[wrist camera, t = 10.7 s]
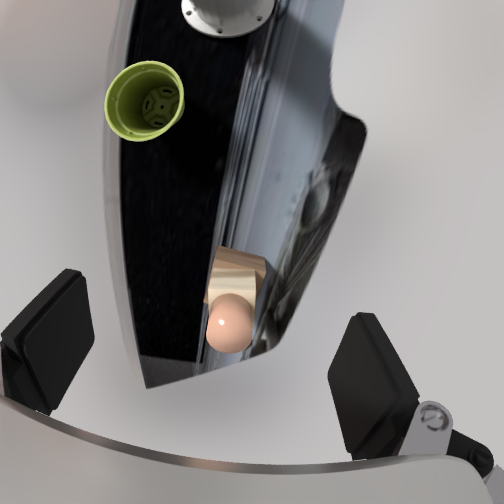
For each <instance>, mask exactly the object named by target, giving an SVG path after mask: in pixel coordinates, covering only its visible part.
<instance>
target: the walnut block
mask: <svg viewBox="0 0 504 504" xmlns="http://www.w3.org/2000/svg"><path fill="white" fill-rule="evenodd" d="M213 268H222V269H252V270H255V283H256V296H255V303H256V300H257V297H258V294H259V291H260V289H261V286H262V283H263V280H264V277H265V274H266V266H265V258H264V257H261V256H257V255H253V254H249V253H245V252H242V251H238V250H234V249H230V248H227V247H223V246H219V245H218V248H217V252H216V255H215V259H214V263H213V267H212V271H213ZM212 271H211V275H212ZM211 275H210V279H211ZM210 279H209V283H210ZM209 283H208V287H209ZM208 287H207V291H206V295H205V299H204V303H208V304H209V302H208Z"/></svg>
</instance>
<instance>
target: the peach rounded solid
mask: <svg viewBox="0 0 504 504" xmlns="http://www.w3.org/2000/svg"><path fill="white" fill-rule="evenodd" d="M206 337H207V341H208V343H209V344H210V345H211V346H212V347H213V348H214V349H216V350H218V351H220V352H224V353H237V352H240V351H242V350H244V349H245V348H247V347H248V346H249V344H250V342H251V340H252V328H251V308H250V305H249V303H248V301H247V300H246V299H245V298H244V297H242V296H240V295H238V294H233V293H227V294H222V295H220V296H218V297H217V298H215V300H214V301H213V302H212V304H211V308H210V314H209V321H208V327H207V333H206Z"/></svg>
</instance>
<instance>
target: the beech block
mask: <svg viewBox="0 0 504 504" xmlns="http://www.w3.org/2000/svg"><path fill="white" fill-rule="evenodd" d="M227 293H233V294H238V295H240V296H242V297H244V298H245V299H246V300H247V301H248V303H249V305H250V308H251V328H254V315H255V296H256V283H255V270H252V269H222V268H213V271H212V275H211V279H210V283H209V287H208V302H209V314H210V308H211V304H212V302H213V301H214V300H215V298H217V297H218V296H220V295H222V294H227Z"/></svg>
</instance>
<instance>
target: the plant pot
mask: <svg viewBox="0 0 504 504" xmlns="http://www.w3.org/2000/svg"><path fill="white" fill-rule="evenodd" d="M163 90H170V91H172V93H168V92H163ZM147 101H149V104H148V108H147V110H146V103H147ZM161 105H163V106H164V108H163V109H161ZM184 107H185V103H184V90H183V85H182V82H181V80H180V78H179V76H178V75H177V73H176V72H175V71H174V70H173V69H172V68H171V67H169V66H167V65H166V64H163V63H160V62H155V61H145V62H140V63H136V64H134V65H131V66H129V67H128V68H126V69H125V70H123V71H122V72H121V73H120V74H118V75H117V77H116V78H115V79H114V80H113V82H112V83H111V85H110V87H109V89H108V91H107V94H106V98H105V115H106V119H107V121H108V124H109V125H110V127H111V128H112V130H113V131H114V132H115V133H116V134H118V135H119V136H120V137H122V138H125V139H127V140H131V141H145V140H150V139H153V138H155V137H157V136H159V135H161V134H163V133H164V132H165V131H167V130H168V129H169V128H170V127H171V126H172V125H174V124H175V123H176V122H177V121H178V120H179V119H180V118H181V116H182V114H183V112H184ZM155 121H156V122H160V123H164V124H162V125H157V124H155V123H154V122H155Z"/></svg>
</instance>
